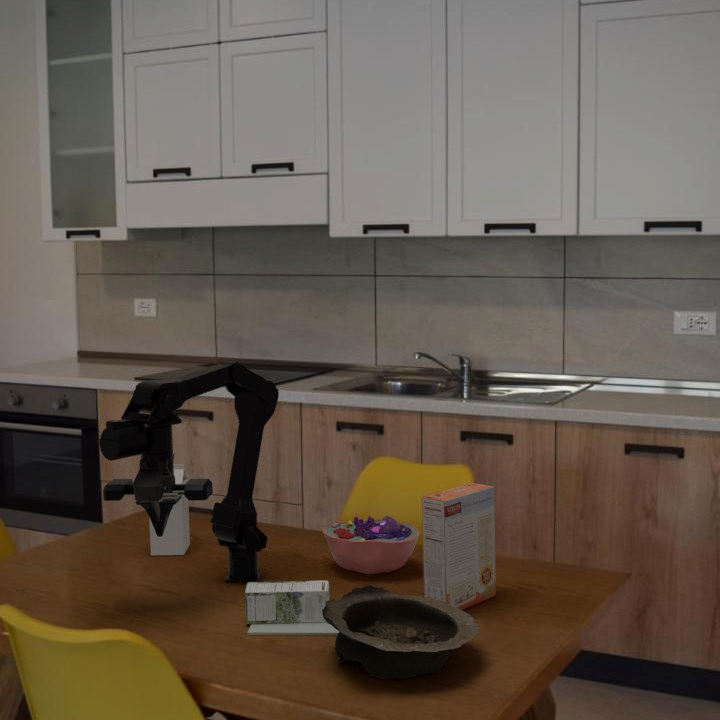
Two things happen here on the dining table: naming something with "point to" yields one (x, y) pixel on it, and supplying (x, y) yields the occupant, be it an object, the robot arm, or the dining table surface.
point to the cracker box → (459, 545)
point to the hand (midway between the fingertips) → (160, 536)
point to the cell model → (371, 544)
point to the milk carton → (174, 524)
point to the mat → (292, 629)
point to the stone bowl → (397, 631)
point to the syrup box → (286, 602)
